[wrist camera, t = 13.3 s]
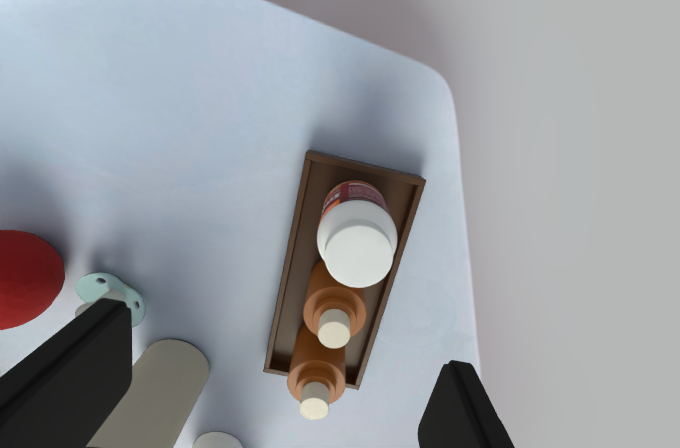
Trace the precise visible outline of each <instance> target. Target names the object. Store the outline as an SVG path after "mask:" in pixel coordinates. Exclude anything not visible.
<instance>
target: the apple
mask: <svg viewBox="0 0 680 448" xmlns="http://www.w3.org/2000/svg"><path fill="white" fill-rule="evenodd" d="M64 280H65V271H64V263H63V260H62V257H61V256H60V255H59V254H58V253H57V251H56V250H55V249H54V248H53V247H52V246H51V245H50V244H48V243H47V242H46V241H44V240H43V239H42V238H40V237H38V236H36V235H34V234H31V233H27V232H23V231H16V230H0V330H4V329H9V328H14V327H17V326H20V325H23V324H25V323H27V322H29V321H31V320H33V319H35V318H36V317H37V316H39V315H40V314H42V313H43V312H44V311H45V310H46V309H47V308H48V307H49V306H50V305H51V304H52V302H53V301H54V300H55V298H56V297H57V295H58V294H59V293H60V291H61V289H62V287H63V283H64Z"/></svg>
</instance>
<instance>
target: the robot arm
mask: <svg viewBox="0 0 680 448" xmlns="http://www.w3.org/2000/svg"><path fill="white" fill-rule="evenodd" d="M131 382H132V311H131V308H129V307H127V304H126V302H124V301H120V300H115V299H109V298H101V299H99V300H97V301H96V302H95V303H94V304H92V305H91V306H90V307H89V308H87V309H86V310H85V311H84V312H82V313H81V314H80V315H78V316H77V317H76V318H75V319H73V320H72V321H71V322H70V323H68V324H67V325H66V326H65V327H63V328H62V329H61V330H60V331H58V332H57V333H56V334H55V335H53V336H52V337H51V338H49V339H48V340H47V341H46V342H44V343H43V344H42V345H41V346H39V347H38V348H37V349H36V350H34V351H33V352H32V353H31V354H29V355H28V356H27V357H26V358H24V359H23V360H22V361H20V362H19V363H18V364H17V365H15V366H14V367H13V368H12V369H10V370H9V371H8V372H7V373H5V374H4V375H3V376H2V377H0V448H85V447H86V446H87V444H88V443H89V442H90V440H91V439H92V438H93V436H94V435H95V434H96V432H97V431H98V430H99V428H100V427H101V426H102V424H103V423H104V422H105V420H106V419H107V418H108V416H109V415H110V414H111V413H112V411H113V410H114V409H115V407H116V406H117V405H118V403H119V402H120V401H121V399H122V398H123V397H124V395H125V394H126V393H127V391H128V389H129V387H130V385H131ZM418 441H419V446H420V448H515V447H514V446H513V443H512V441H511V439H510V437H509V436H508V433H507V431H506V429H505V428H504V426H503V424H502V422H501V420H500V419H499V418H498V416H497V414H496V412H495V409H494V407H493V405H492V404H491V402H490V400H489V397H488V395H487V393H486V392H485V389H484V387H483V385H482V383H481V381H480V379H479V377H478V375H477V373H476V371H475V369H474V367H473V366H472V364H470V363H466V362H460V361H455V360H451V361H450V362H449V363H448V364H444V365H443V367H442V369H441V372H440V374H439V377H438V379H437V382H436V384H435V387H434V389H433V392H432V394H431V397H430V399H429V402H428V404H427V407H426V409H425V412H424V414H423V417H422V419H421V422H420V424H419V427H418Z"/></svg>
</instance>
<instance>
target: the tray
mask: <svg viewBox="0 0 680 448" xmlns="http://www.w3.org/2000/svg"><path fill="white" fill-rule="evenodd" d="M352 180H358V181H363V182H366V183H369V184H371V185H372V186H374V187H375V188H376V189H377V190H378V191H379V192H380V193H381V195H382V196H383V198H384V200H385V203H386V205H387V208H388V210H389V212H390V215H391V217H392V219H393V222H394V224H395V227H396V231H397V247H396V250H395V253H394V255H393V262H392V266H391V268H390V270H389V272H388V273H387V275H386V276H385V277H384V278H383V279H382V280H380V281H379V282H377V283H376V284H373V285H371V286H367V287H364V295H365V304H366V313H367V314H366V321H365V323H364V325H363V327H362V328H361V330H360V331H359V332H358V333H357V334H355V335H354V336H352V337H350V339H349V341H348V342H347V343H346V344H345V387H347V388H352V389H357V390H359V387H360V384H361V381H362V378H363V375H364V372H365V369H366V366H367V362H368V359H369V356H370V353H371V350H372V347H373V344H374V341H375V338H376V335H377V332H378V328H379V325H380V322H381V319H382V316H383V313H384V310H385V307H386V304H387V301H388V297H389V294H390V291H391V288H392V285H393V282H394V279H395V276H396V273H397V270H398V266H399V263H400V260H401V257H402V254H403V251H404V248H405V245H406V242H407V239H408V236H409V232H410V229H411V226H412V223H413V220H414V217H415V214H416V211H417V208H418V205H419V201H420V198H421V195H422V192H423V189H424V186H425V183H426V180H425V179H424V178H422V177H421V176H418V175H414V174H410V173H405V172H401V171H397V170H393V169H389V168H384V167H380V166H376V165H372V164H367V163H363V162H359V161H355V160H351V159H346V158H342V157H338V156H334V155H329V154H325V153H321V152H317V151H312V150H308V151H307V152H306V155H305V160H304V166H303V171H302V176H301V181H300V186H299V191H298V196H297V201H296V206H295V212H294V217H293V222H292V227H291V232H290V237H289V242H288V247H287V252H286V257H285V263H284V268H283V273H282V278H281V283H280V288H279V293H278V298H277V303H276V309H275V314H274V319H273V324H272V329H271V334H270V339H269V344H268V349H267V355H266V360H265V365H264V370H263V372H267V373H272V374H278V375H283V376H288V374H289V370H290V365H291V360H292V355H293V350H294V345H295V340H296V335H297V333H298V331H299V329H300V328H301V327H302V326H303V325H304V324H306V323H305V321H304V317H303V310H304V304H305V299H306V294H307V289H308V284H309V279H310V274H311V271H312V269H313V267H314V266H315V265H316V264H317V263H318V262H319V261H320V260H322V257H321V255H320V252H319V249H318V245H317V232H318V227H319V223H320V219H321V215H322V210H323V205H324V202H325V199H326V197H327V195H328V194H329V192H330V191H331V190H332V189H333V188H334V187H336V186H337V185H339V184H341V183H343V182H346V181H352Z"/></svg>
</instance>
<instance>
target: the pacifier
mask: <svg viewBox="0 0 680 448" xmlns="http://www.w3.org/2000/svg"><path fill="white" fill-rule="evenodd" d="M98 278H103V279H104V280H105V281H106V282H100V281H98ZM75 287H76V288H75V289H76V292H77V294H78V296H79V297H80V298H81V299H82V300H83V301H84V302H85V304H83V305H81V306H80V307H79V308H78V309H77V310H76V312H75V316H76V317H77V316H78V315H80V314H81V313H82V312H84V311H85V310H86V309H87V308H89V307H90V306H91V305H92V304H94V303H95V302H96V301H97V300H99V299H101V298H109V299H115V300H120V301H124V302H126V304H127V307H129V308H131V311H132V327H135V326H137V325H138V324H139V323H140V322H141V321H142V320H143V318H144V316H145V311H146V306H145V302H144V299H143V297H142V296H141V295H140V294H139V293H138V292H137V291H136V290H134V289H131V288H130V287H129V286H127V285H126V284H124V283H122V282H121V281H120V280H119V279H118V278H117V277H115V276H113V275H111V274H108V273H101V272H96V273H90V274H88V275H85V276H83V277H82V278H80V279H79V280H78V281H77V283H76V286H75ZM137 302H138V303H139V305H140V307H138V306H137V305H136V303H137Z"/></svg>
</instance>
